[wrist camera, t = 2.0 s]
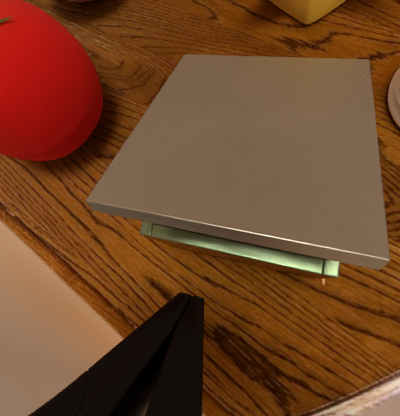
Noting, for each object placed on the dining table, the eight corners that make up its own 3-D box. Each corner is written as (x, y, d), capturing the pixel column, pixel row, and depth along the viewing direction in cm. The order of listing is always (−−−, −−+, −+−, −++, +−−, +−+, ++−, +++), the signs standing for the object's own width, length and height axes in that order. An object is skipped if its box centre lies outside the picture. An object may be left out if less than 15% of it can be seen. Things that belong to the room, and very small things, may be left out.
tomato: (73, 199, 27) (-53, 144, 16) (-3, 142, 32) (-143, 68, 21) (146, 99, 29) (74, -14, 18) (63, 58, 33) (-36, -54, 22)
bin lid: (380, 271, 9) (391, 261, 9) (92, 211, 12) (84, 200, 12) (364, 72, 16) (369, 58, 16) (185, 65, 19) (184, 53, 19)
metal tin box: (312, 279, 21) (338, 278, 14) (173, 247, 24) (138, 233, 17) (333, 133, 23) (364, 71, 16) (206, 121, 26) (186, 64, 19)
